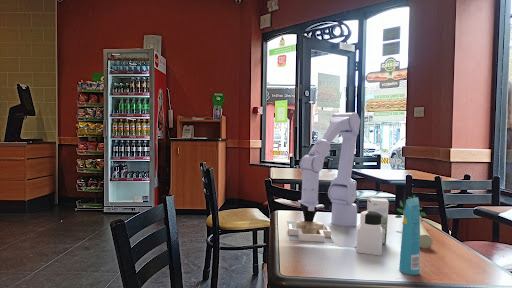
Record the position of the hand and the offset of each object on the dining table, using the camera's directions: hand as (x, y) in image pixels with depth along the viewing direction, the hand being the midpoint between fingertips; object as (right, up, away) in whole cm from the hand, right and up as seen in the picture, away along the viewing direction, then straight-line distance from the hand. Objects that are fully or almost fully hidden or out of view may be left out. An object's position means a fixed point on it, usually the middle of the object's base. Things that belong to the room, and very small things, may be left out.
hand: (308, 227), depth 128 cm
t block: (0, -1, -6) cm, 6 cm away
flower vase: (+39, -4, +4) cm, 40 cm away
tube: (+21, -4, -34) cm, 40 cm away
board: (0, -2, 0) cm, 2 cm away
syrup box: (+22, -3, -7) cm, 23 cm away
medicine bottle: (+16, -3, -18) cm, 24 cm away
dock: (0, -1, -6) cm, 7 cm away
